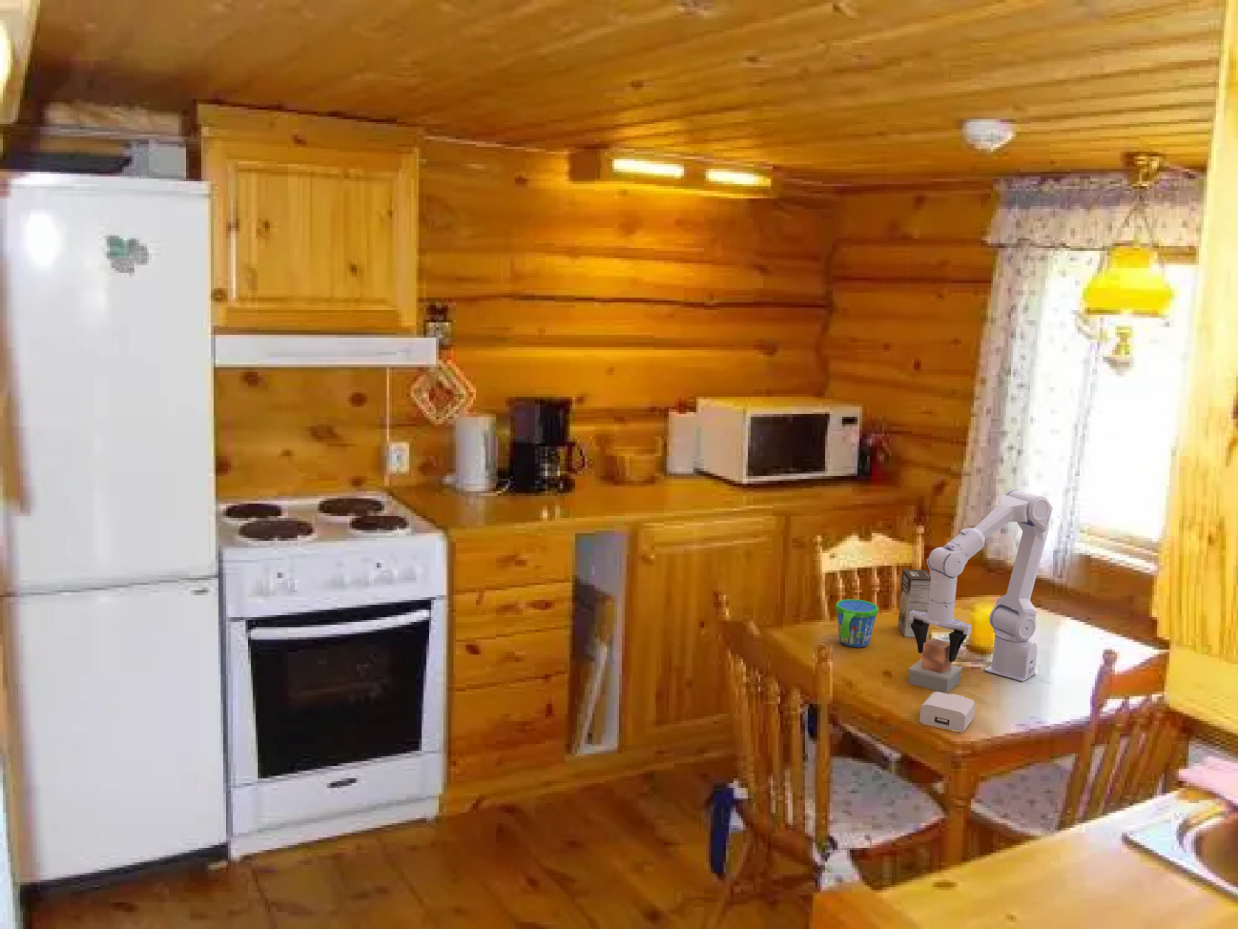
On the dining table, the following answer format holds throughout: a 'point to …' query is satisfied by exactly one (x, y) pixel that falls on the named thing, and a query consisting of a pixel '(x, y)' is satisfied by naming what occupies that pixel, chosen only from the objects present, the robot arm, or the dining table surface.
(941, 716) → the charger
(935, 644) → the terracotta block
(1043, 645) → the dining table surface
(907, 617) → the coffee box
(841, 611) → the snack cup
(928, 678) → the slate box
